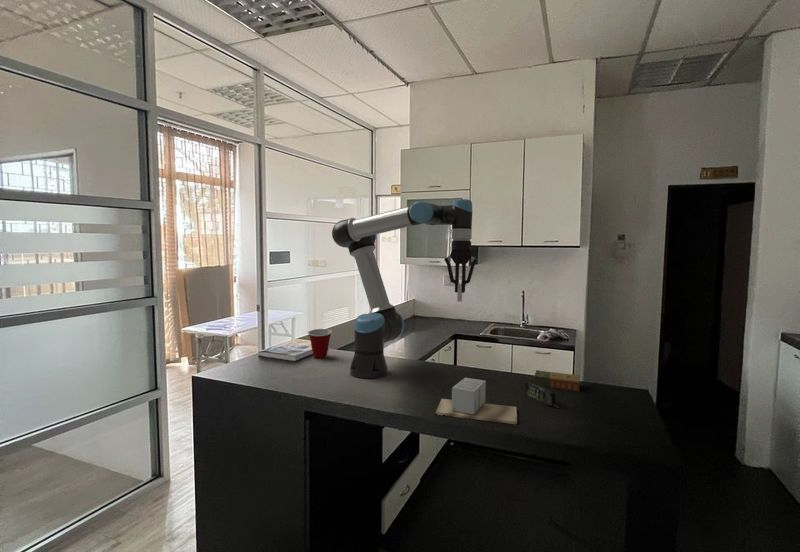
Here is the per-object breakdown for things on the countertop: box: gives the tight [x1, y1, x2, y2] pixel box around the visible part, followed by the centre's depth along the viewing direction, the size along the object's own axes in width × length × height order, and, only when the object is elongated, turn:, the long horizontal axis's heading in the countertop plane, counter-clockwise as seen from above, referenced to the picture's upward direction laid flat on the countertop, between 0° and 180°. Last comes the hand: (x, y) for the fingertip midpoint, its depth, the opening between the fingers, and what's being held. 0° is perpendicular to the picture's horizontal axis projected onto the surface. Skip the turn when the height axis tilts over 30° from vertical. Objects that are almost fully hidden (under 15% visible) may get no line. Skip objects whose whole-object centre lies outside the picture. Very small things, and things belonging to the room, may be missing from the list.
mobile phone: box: [524, 381, 560, 409], centre depth 142 cm, size 5×3×15 cm
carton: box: [533, 369, 581, 392], centre depth 159 cm, size 8×16×4 cm, turn 67°
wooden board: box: [435, 398, 518, 425], centre depth 131 cm, size 24×12×1 cm, turn 75°
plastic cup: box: [307, 328, 333, 359], centre depth 192 cm, size 11×11×12 cm
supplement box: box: [451, 377, 487, 414], centre depth 133 cm, size 7×7×13 cm
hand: (459, 301), depth 164 cm, fingers closed
